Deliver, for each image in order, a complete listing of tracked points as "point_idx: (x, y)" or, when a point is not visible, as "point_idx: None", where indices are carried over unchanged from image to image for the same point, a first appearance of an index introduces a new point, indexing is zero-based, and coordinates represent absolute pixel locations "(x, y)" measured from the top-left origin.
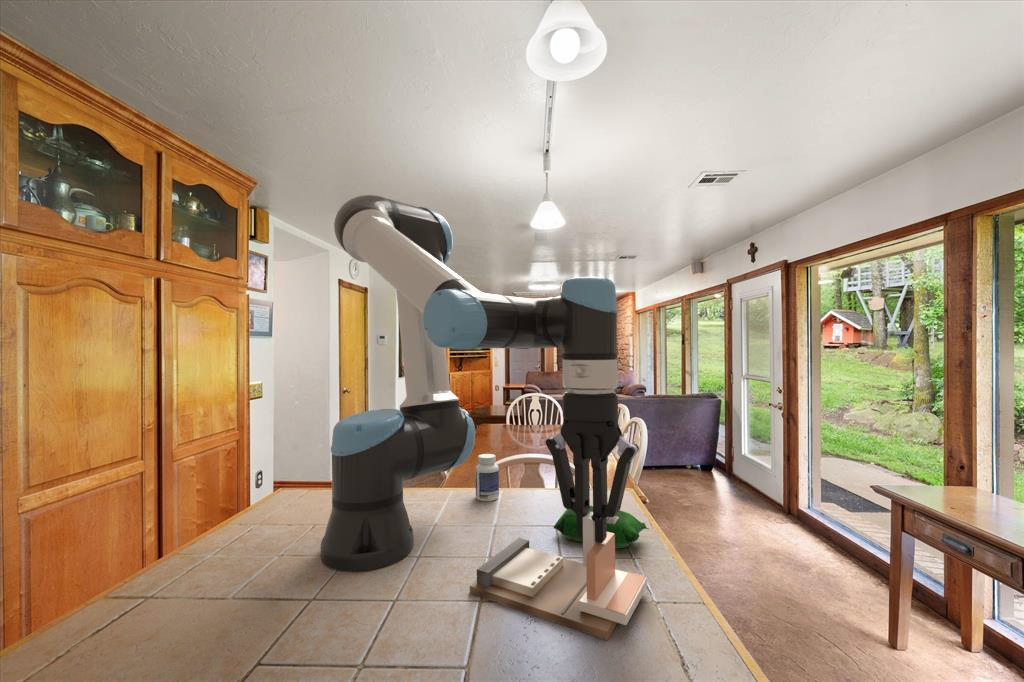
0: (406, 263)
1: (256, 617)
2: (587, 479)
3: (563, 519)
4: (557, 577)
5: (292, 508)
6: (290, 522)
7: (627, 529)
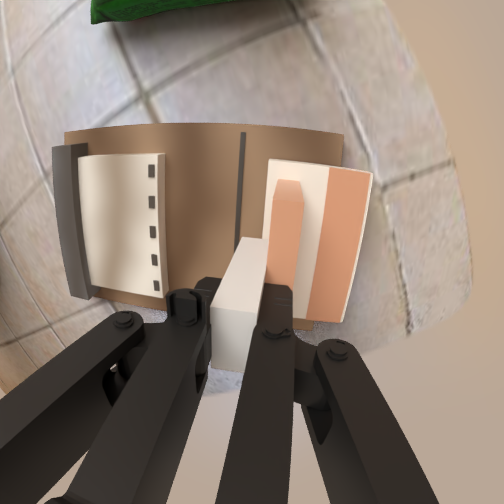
0: None
1: (21, 364)
2: (163, 453)
3: (99, 12)
4: (175, 209)
5: None
6: None
7: None
